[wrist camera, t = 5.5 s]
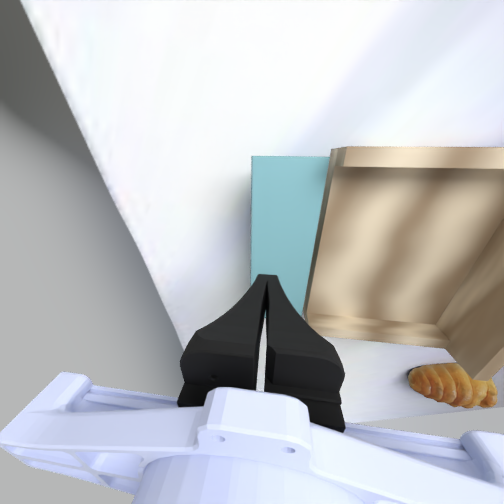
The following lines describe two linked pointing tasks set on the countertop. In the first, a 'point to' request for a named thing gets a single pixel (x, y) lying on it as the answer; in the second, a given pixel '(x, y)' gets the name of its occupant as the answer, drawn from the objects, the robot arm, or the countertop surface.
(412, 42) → the countertop surface
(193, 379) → the robot arm
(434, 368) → the pastry
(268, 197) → the panel
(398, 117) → the countertop surface
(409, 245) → the tray
